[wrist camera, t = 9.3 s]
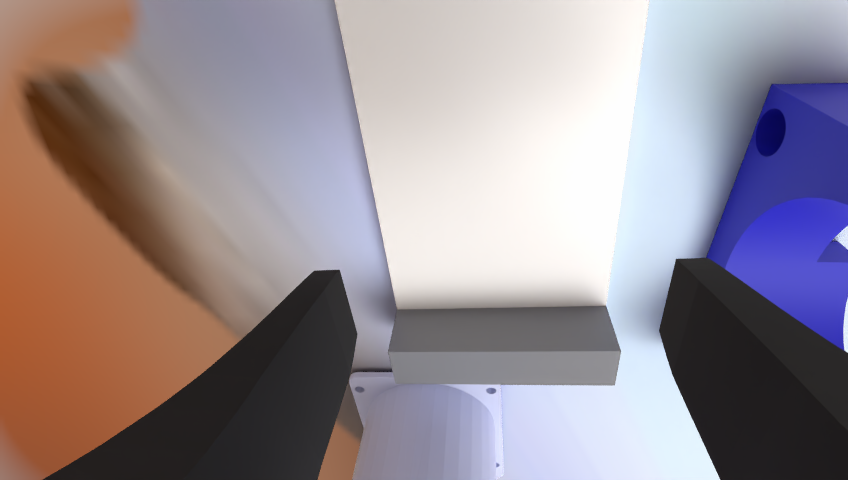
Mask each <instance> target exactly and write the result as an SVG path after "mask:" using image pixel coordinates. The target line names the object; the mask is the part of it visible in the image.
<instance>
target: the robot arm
mask: <svg viewBox="0 0 848 480" xmlns="http://www.w3.org/2000/svg"><path fill="white" fill-rule="evenodd" d="M659 332H660V335H661V338H662V342H663V345H664V349H665V352H666V356H667V359H668V362H669V365H670V368H671V371H672V375H673V377H674V379H675V381H676V384H677V386H678V388H679V390H680V393H681V395H682V397H683V399H684V402H685V404H686V406H687V408H688V410H689V413H690V415H691V417H692V419H693V421H694V423H695V426H696V428H697V430H698V432H699V434H700V436H701V439H702V441H703V443H704V445H705V447H706V449H707V452H708V454H709V456H710V458H711V460H712V462H713V465H714V467H715V469H716V471H717V473H718V475H719V478H720V480H848V353H847V352H845V351H844V350H842V349H841V348H839V347H837V346H836V345H834V344H833V343H831V342H830V341H828V340H827V339H825V338H824V337H822V336H821V335H819V334H818V333H816V332H814V331H813V330H812V329H810V328H809V327H807V326H806V325H804V324H803V323H801V322H800V321H798V320H797V319H795V318H794V317H792V316H791V315H789V314H788V313H787V312H785V311H784V310H782V309H781V308H779V307H778V306H777V305H775V304H774V303H772V302H771V301H769V300H768V299H767V298H765V297H764V296H762V295H761V294H760V293H758V292H757V291H755V290H754V289H752V288H751V287H750V286H748V285H747V284H745V283H744V282H743V281H741V280H740V279H738V278H737V277H736V276H734V275H733V274H731V273H730V272H728V271H727V270H726V269H724V268H723V267H721V266H720V265H718V264H717V263H715V262H714V261H712V260H711V259H709V258H694V259H676V262H675V266H674V270H673V275H672V279H671V283H670V287H669V291H668V296H667V300H666V304H665V308H664V313H663V317H662V321H661V325H660V329H659ZM356 339H357V331H356V327H355V324H354V320H353V317H352V313H351V309H350V306H349V302H348V298H347V295H346V291H345V288H344V284H343V280H342V277H341V273H340V270H322V271H314V272H312V273H311V274H310V275H309V276H308V277H307V278H306V279H305V280H304V281H303V282H302V283H301V284H300V285H299V286H297V287H296V288H295V289H294V290H293V291H292V292H291V293H290V294H289V295H288V296H287V297H286V298H285V299H284V300H283V301H282V302H281V303H280V304H279V305H278V306H277V307H276V308H275V309H274V310H273V311H272V312H271V313H270V314H269V315H268V316H267V317H265V318H264V319H263V320H262V321H261V322H260V323H259V324H258V325H257V326H256V327H255V328H254V329H253V330H252V331H251V332H250V333H248V334H247V335H246V336H245V337H244V338H243V339H242V340H241V341H239V342H238V343H237V344H236V345H235V346H234V347H233V348H231V349H230V350H229V351H228V352H227V353H226V354H225V355H223V356H222V357H221V358H220V359H219V360H218V361H217V362H215V364H213V365H212V366H211V367H209V368H208V369H207V370H206V371H205V372H204V373H202V374H201V375H200V376H198V377H197V378H196V379H195V380H193V381H192V382H191V383H189V384H188V385H187V386H185V387H184V388H183V389H181V390H180V391H179V392H177V393H176V394H175V395H174V396H172V397H171V398H169V399H168V400H167V401H165V402H164V403H163V404H161V405H160V406H158V407H157V408H156V409H154V410H153V411H151V412H150V413H148V414H147V415H145V416H144V417H142V418H141V419H139V420H138V421H136V422H135V423H133V424H132V425H130V426H129V427H127V428H126V429H124V430H123V431H121V432H120V433H118V434H117V435H115V436H114V437H112V438H111V439H109V440H108V441H106V442H105V443H103V444H102V445H100V446H98V447H97V448H95V449H94V450H92V451H90V452H89V453H87V454H85V455H84V456H82V457H80V458H79V459H77V460H75V461H74V462H72V463H71V464H69V465H67V466H65V467H64V468H62V469H61V470H58V471H57V472H55V473H53V474H51V475H50V476H48V477H46V478H45V479H43V480H317V479H318V476H319V472H320V469H321V465H322V462H323V459H324V455H325V452H326V449H327V446H328V443H329V439H330V437H331V434H332V430H333V427H334V424H335V421H336V418H337V415H338V412H339V409H340V405H341V402H342V399H343V396H344V393H345V389H346V386H347V383H348V379H349V376H350V372H351V367H352V362H353V357H354V351H355V345H356ZM349 384H350V387H351V390H352V394H353V397H354V400H355V403H356V406H357V409H358V412H359V415H360V418H361V422H362V425H363V428H364V430H363V435H362V439H361V444H360V448H359V452H358V457H357V461H356V466H355V470H354V474H353V479H352V480H496V478H499V477H502V476H503V474H504V464H503V436H502V407H501V385H482V384H395V380H394V375H393V372H355V373H353V374H351V376H350V379H349Z"/></svg>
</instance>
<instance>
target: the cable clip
mask: <svg viewBox="0 0 848 480" xmlns="http://www.w3.org/2000/svg"><path fill="white" fill-rule="evenodd" d="M846 226H848V83H812V84H772V85H771V87H770V90H769V93H768V95H767V98H766V101H765V103H764V106H763V109H762V111H761V114H760V116H759V119H758V122H757V124H756V127H755V130H754V132H753V135H752V138H751V140H750V143H749V146H748V148H747V151H746V154H745V156H744V159H743V161H742V164H741V167H740V169H739V172H738V175H737V177H736V180H735V183H734V185H733V188H732V191H731V193H730V196H729V199H728V201H727V204H726V206H725V209H724V212H723V214H722V217H721V220H720V222H719V225H718V228H717V230H716V233H715V236H714V238H713V241H712V244H711V246H710V249H709V251H708V254H707V257H706V258H709V259H711V260H712V261H714V262H715V263H717V264H718V265H720V266H721V267H723V268H724V269H726V270H727V271H728V272H730V273H731V274H733V275H734V276H736V277H737V278H738V279H740V280H741V281H743V282H744V283H745V284H747V285H748V286H750V287H751V288H752V289H754V290H755V291H757V292H758V293H760V294H761V295H762V296H764V297H765V298H767V299H768V300H769V301H771V302H772V303H774V304H775V305H777V306H778V307H779V308H781V309H782V310H784V311H785V312H787V313H788V314H789V315H791V316H792V317H794V318H795V319H797V320H798V321H800V322H801V323H803V324H804V325H806V326H807V327H809V328H810V329H812V330H813V331H814V332H816V333H818V334H819V335H821V336H822V337H824V338H825V339H827V340H828V341H830V342H831V343H833V344H834V345H836V346H837V347H839V348H841V349H842V350H844V344H843V323H844V313H845V307H846V302H847V298H848V250H847V249H846V248H845V247H844V246H843V245H842V244H840V243H839V242H838V241H832V240H833V239H834V237H835V236H836V235H838V234H839V233H840V232H841V231H842V230H843V229H844V228H845V227H846Z"/></svg>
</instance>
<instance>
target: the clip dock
mask: <svg viewBox="0 0 848 480" xmlns="http://www.w3.org/2000/svg"><path fill="white" fill-rule="evenodd" d="M335 5H336V10H337V15H338V20H339V25H340V30H341V35H342V40H343V45H344V50H345V55H346V60H347V65H348V69H349V74H350V79H351V84H352V89H353V94H354V99H355V104H356V109H357V114H358V119H359V124H360V129H361V134H362V139H363V144H364V149H365V153H366V158H367V163H368V168H369V173H370V178H371V183H372V188H373V193H374V198H375V203H376V208H377V213H378V218H379V223H380V228H381V233H382V237H383V242H384V247H385V252H386V257H387V262H388V267H389V272H390V277H391V282H392V287H393V292H394V297H395V302H396V307H397V312H396V317H395V322H394V326H393V331H392V336H391V341H390V345H389V350H388V354H389V358H390V363H391V367H392V371H393V375H394V380H395V384H482V385H615V381H616V376H617V370H618V365H619V359H620V354H621V350H620V347H619V344H618V341H617V338H616V335H615V332H614V329H613V326H612V323H611V320H610V317H609V314H608V311H607V307H606V302H607V295H608V288H609V281H610V274H611V267H612V260H613V253H614V246H615V239H616V232H617V225H618V218H619V211H620V204H621V197H622V190H623V183H624V176H625V169H626V162H627V155H628V147H629V140H630V133H631V126H632V119H633V112H634V105H635V98H636V91H637V84H638V77H639V70H640V63H641V56H642V49H643V42H644V35H645V28H646V21H647V14H648V7H649V0H335Z"/></svg>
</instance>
